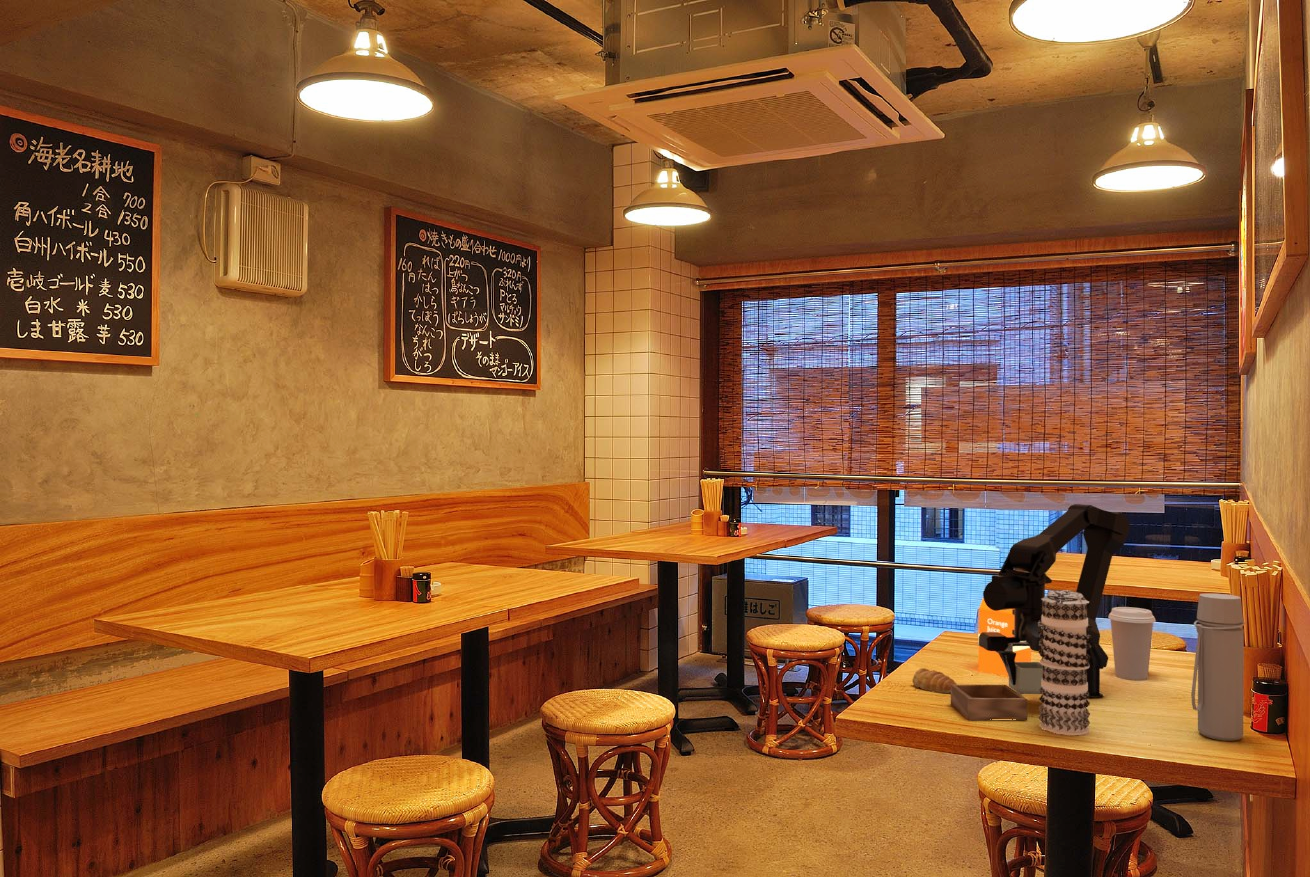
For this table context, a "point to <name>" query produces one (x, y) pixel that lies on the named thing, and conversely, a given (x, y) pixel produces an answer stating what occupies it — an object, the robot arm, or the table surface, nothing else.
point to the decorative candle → (1064, 663)
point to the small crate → (1027, 677)
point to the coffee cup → (1131, 641)
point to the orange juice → (1004, 625)
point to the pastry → (933, 681)
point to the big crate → (988, 702)
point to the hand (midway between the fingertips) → (1029, 684)
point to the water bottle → (1219, 667)
